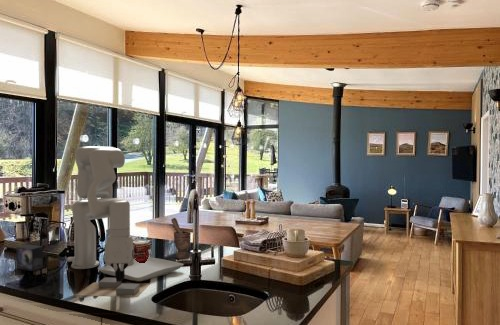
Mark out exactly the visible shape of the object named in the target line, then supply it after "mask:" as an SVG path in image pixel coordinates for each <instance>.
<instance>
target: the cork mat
mask: <svg viewBox="0 0 500 325" xmlns="http://www.w3.org/2000/svg"><path fill="white" fill-rule="evenodd" d="M121 284H140V290H139V291H138V292H137V293H136V294H135V295H117V294H116V288H117V287H116V288H99V281H98V282H97V281H96V282H95V281H94V282H92V283H91V284H89V285H87V286H86V287H85V288H83V289H82V290H80V291H79V292H77V293H76V294H75V295H74V296H76V297H77V296H79V297H80V296H82V297H88V296H89V297H121V298H122V297H124V298H126V297H127V298H129V297H130V298H131V297H132V298H138V297H139V296H140V295H142V294H143V292H145V290H147V288H148V287H149V286H150V285H151V284H152V283H151V282H150V283H149V282H145V283H144V282H143V283H141V282H122V283H121ZM121 284H120V285H121ZM120 285H119V286H120Z"/></svg>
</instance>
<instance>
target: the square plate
mask: <svg viewBox="0 0 500 325" xmlns="http://www.w3.org/2000/svg"><path fill="white" fill-rule="evenodd" d="M147 257H148V259H147V261H146V262H145V263H139V262H137V261H136V260H135V259H136V258H134V259H133V261H134V264H133V265H132V266H127V267H126V269H124V271H125V277H124V280H129V281H134V282H143V281H147V280H148V281H149V280H150V279H154V278H157V277H161V276H165V275H167V274H168V275H169V274H170V273H172V272H174V271H177V270H179V269H181V268H182V267H183V266H184V265H185V263H181V262H176V261H172V260H167V259H162V258H156V257H149V256H147ZM119 266H121V264H119ZM97 270H99V271H100V272H101V273H103V274H105V275H107V276H108V275H109V276H114V277H115V271H114V269H113V268H112V267H111V266H109V265H104V266H100V267H98V268H97Z"/></svg>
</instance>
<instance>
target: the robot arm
mask: <svg viewBox="0 0 500 325" xmlns="http://www.w3.org/2000/svg"><path fill="white" fill-rule="evenodd" d="M74 160H75V164H76V167H77V182H76V183H77V184H76V185H77V186H76V194H77V196H78V197H79V198H81V200H77V201H75V202H74V203H73V204H72V206H71V210H72V216H73V218H72V219H73V227H74V229H73V230H74V236H73V237H74V256H68V257H67V258H66V262H68V263H71V262H72V263H71V265H70V267H71V268H72V269H74V270H85V269H93V268H96V267H98V266H100V261H99V260H97V229H96V226H95V225H94V224H93V222H91V220H99V219H108V218H109V220H108V223H109V224H108V225H109V226H108V228H107V229H105V233H106V234H108V236H106V240H105V247H104V248H105V249H104V262H105V266H107V265H109V266H111V267H112V268H113V269H114V271H115V276H114V278H116V281H119V282H121V281H124V280H125V278H124V277H125V271H124V269H126V267H127V266H132V265H133V264H134V261H133V259H135V250H134V249H135V248H134V247H135V246H134V241H133V237H132V235H131V222H130V221H131V215H130V214H131V212H130V210H131V204H130V201H128V200H126V199H125V198H123V197H113V190H114V188H113V184H115V182H116V180H117V179H116V178H117V174H116V172H115V169H120V168H122V167H124V165H125V162H126V161H125V160H126V159H125V155H124V152H123V151H122V150H121V149H120V148H118V147H117V148H116V147H114V146H80V147H76V150H75V151H74ZM119 264H121V266H119Z"/></svg>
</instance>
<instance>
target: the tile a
mask: <svg viewBox="0 0 500 325" xmlns="http://www.w3.org/2000/svg"><path fill="white" fill-rule="evenodd" d="M122 281H123V280H122ZM122 281H121V282H119V281H116V278H115V277H103V278H102V279H101V280H99V281H98V282H99V288H116V287H118V286H119V285H120V284H121V283H123V282H122Z"/></svg>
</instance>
